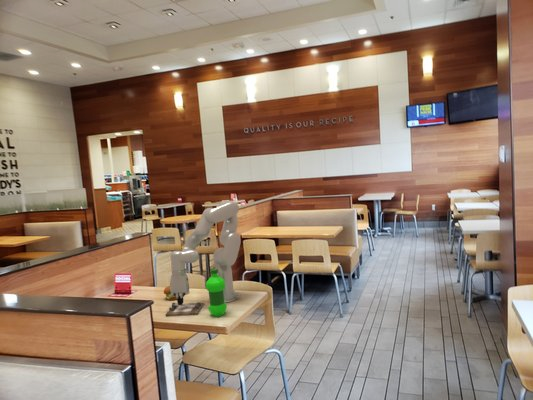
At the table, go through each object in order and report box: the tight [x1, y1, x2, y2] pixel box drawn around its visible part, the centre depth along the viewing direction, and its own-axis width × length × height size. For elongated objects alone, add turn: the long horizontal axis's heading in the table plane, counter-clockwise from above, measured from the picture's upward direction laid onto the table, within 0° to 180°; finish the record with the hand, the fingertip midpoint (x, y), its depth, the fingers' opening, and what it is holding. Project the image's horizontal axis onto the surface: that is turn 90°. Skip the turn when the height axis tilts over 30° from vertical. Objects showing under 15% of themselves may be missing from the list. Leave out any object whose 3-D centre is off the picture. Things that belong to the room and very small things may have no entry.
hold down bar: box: [171, 302, 195, 308], centre depth 222 cm, size 15×2×1 cm, turn 85°
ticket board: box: [164, 301, 205, 318], centre depth 222 cm, size 18×16×3 cm
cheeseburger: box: [163, 285, 181, 301], centre depth 246 cm, size 10×11×10 cm
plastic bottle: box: [205, 268, 228, 317], centre depth 211 cm, size 10×10×25 cm
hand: (180, 304), depth 222 cm, fingers closed
